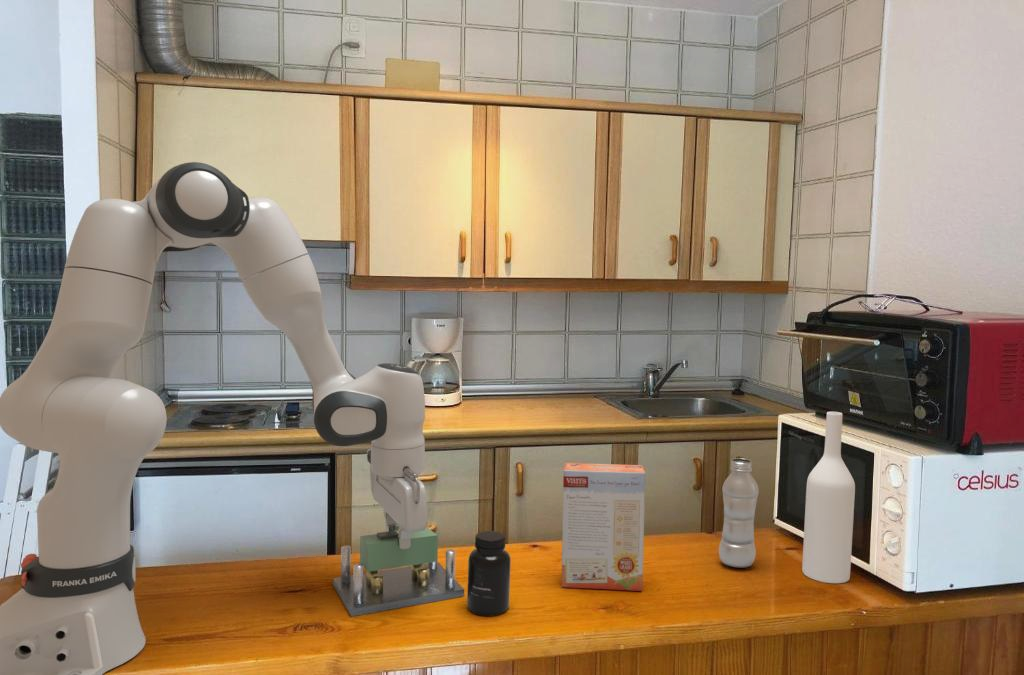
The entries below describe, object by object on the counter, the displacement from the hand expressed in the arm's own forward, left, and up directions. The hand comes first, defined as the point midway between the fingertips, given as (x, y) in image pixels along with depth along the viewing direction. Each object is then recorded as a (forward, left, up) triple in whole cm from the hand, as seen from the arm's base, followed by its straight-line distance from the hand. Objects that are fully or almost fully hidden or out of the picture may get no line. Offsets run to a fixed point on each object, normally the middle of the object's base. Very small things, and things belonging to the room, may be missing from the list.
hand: (398, 540), depth 127 cm
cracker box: (+33, -11, -9) cm, 36 cm away
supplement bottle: (+11, -12, -9) cm, 19 cm away
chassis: (0, 0, -9) cm, 9 cm away
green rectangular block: (0, 0, -4) cm, 4 cm away
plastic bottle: (+61, -14, -9) cm, 64 cm away
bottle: (+73, -24, -9) cm, 78 cm away
